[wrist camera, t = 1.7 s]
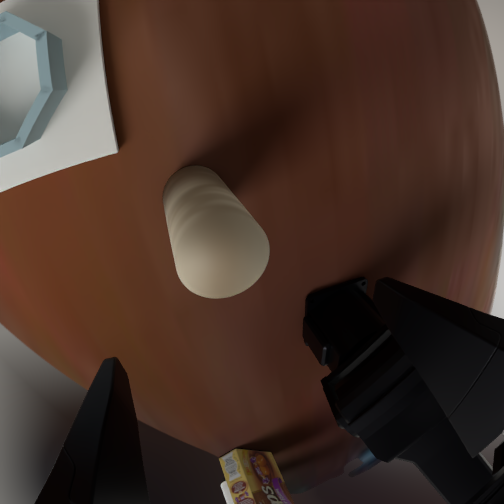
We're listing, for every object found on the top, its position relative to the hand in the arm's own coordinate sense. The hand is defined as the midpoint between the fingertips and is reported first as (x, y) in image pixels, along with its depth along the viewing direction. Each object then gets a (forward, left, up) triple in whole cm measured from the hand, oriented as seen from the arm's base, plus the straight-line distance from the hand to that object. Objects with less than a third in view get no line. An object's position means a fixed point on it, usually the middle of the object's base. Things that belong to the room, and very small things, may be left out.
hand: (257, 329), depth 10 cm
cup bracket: (+10, -10, -12) cm, 19 cm away
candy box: (+1, +42, -12) cm, 44 cm away
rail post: (0, 0, -12) cm, 12 cm away
